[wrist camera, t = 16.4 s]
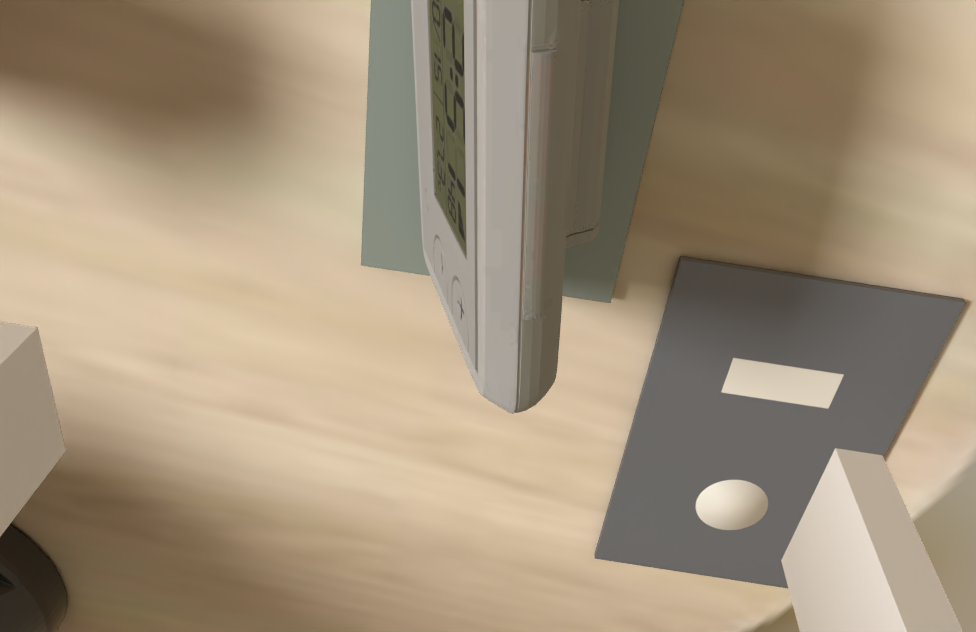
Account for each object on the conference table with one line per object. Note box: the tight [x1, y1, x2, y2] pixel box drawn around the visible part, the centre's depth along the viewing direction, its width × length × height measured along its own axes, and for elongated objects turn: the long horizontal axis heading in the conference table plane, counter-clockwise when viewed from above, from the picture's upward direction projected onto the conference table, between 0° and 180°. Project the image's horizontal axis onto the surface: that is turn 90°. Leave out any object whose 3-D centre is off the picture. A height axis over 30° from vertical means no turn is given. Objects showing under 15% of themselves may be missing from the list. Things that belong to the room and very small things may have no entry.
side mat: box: [361, 0, 684, 303], centre depth 31 cm, size 18×11×1 cm, turn 173°
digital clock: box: [411, 0, 619, 414], centre depth 26 cm, size 16×9×11 cm, turn 168°
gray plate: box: [595, 257, 966, 588], centre depth 39 cm, size 19×12×1 cm, turn 173°
